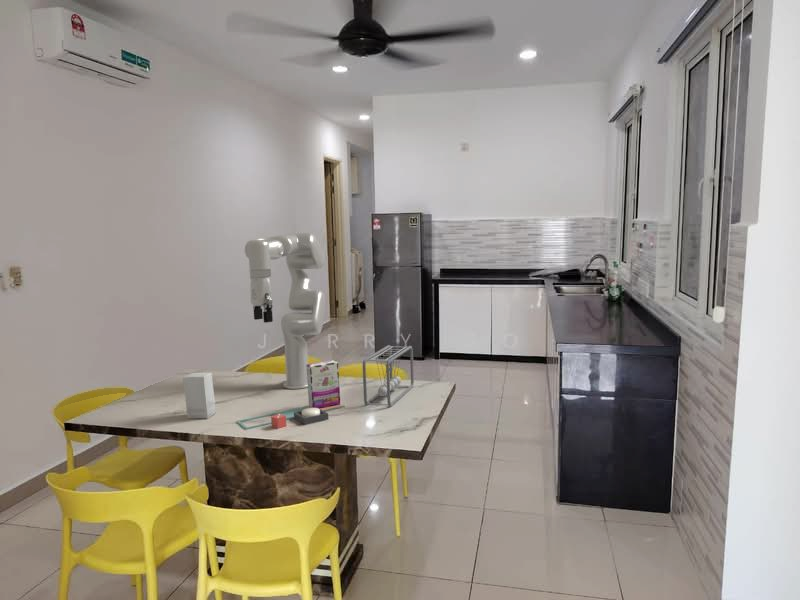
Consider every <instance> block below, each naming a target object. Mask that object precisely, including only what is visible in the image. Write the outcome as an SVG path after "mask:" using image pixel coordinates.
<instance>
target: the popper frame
mask: <svg viewBox="0 0 800 600" xmlns="http://www.w3.org/2000/svg"><path fill="white" fill-rule="evenodd" d="M315 408H317V407H315ZM318 409H319V408H318ZM294 419H295V420H297V421H298V422H300V423H301V424H303V425H304V426H306V425H311V424H315V423H319V422H322V421H327V420H329V413H328V411H323V410H321V409H320V414H319V415H315V416H311V417H304V416H302V411H297V412H294Z"/></svg>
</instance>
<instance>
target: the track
mask: <svg viewBox="0 0 800 600" xmlns="http://www.w3.org/2000/svg"><path fill="white" fill-rule="evenodd" d="M306 406H307V405H306ZM306 406H300V407H296V408H292V409H287V410H282V411H277V412H272V413H267V414H263V415H257V416H253V417H249V418H245V419H239V420H236V422H235V423H236V424H238V425H239V426H241V427H242V428H243V429H244V430H250V429H254V428H260V427H264V426H267V425H272V424H271V421H269V422H265V423H260V424H255V425H252V426H246V425H245V424H243V422H248V421H251V420H252V421H253V420H257V419H260V418H265V417H269V416H275V415H278V414H281V415H284V416H286V421H290V420H293V419H294V412H297V411H302V410H304V409H307V408H306ZM345 407H346V405H344V406H342V407H337V408H333V409H328V410H324V411H325V412H329V411H334V410H337V409H342V408H345Z"/></svg>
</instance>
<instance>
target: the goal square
mask: <svg viewBox="0 0 800 600" xmlns="http://www.w3.org/2000/svg"><path fill="white" fill-rule="evenodd" d="M342 406H345V404H342V403H340V404H339V405H335V406H329V407H325V408H319V409H321V410H323V411H324V410H328V409H333V408H337V407H342ZM305 408H310V407H309V405H306V407H305ZM342 408H343V407H342Z"/></svg>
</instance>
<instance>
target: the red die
mask: <svg viewBox="0 0 800 600" xmlns="http://www.w3.org/2000/svg"><path fill="white" fill-rule="evenodd" d="M270 422H271V424H270V425H271V427H272V428H274V429H278V430H279V429H282V428H284V427H286V426H287V420H286V416H284V415H281V414H278V415H271V417H270Z"/></svg>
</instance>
